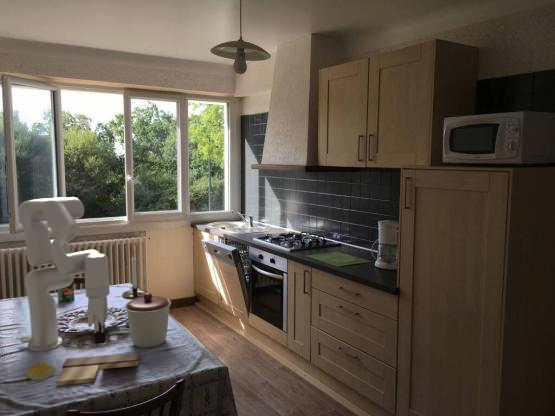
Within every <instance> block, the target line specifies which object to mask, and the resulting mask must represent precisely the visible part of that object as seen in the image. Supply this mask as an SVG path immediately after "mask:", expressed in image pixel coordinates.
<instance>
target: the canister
mask: <svg viewBox="0 0 555 416" xmlns="http://www.w3.org/2000/svg"><path fill="white" fill-rule="evenodd" d="M171 305H172V301H171V300H170V299H167V298H166V297H164V296H159V295H153V294H152V293H151V292H148V293H145V294H144V296H143V297H139V298H136V299H132V300H131V299H130V300H129V302H127V303H125V305H124V309H125V310H126V315H127V319H128V320H127V321H128V322H129V327H128V328H129V332H130V339H131V341H132V343H133V344H134V345H135V346H136V347H138V348H142V349H143V348H147V349H149V348H155V347H158V346H159V345H162V344H163V343H164V342H165V341H166V338H167V335H168V327H169V326H168V325H169V314H170V312H169V311H170V306H171Z"/></svg>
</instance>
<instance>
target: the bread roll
mask: <svg viewBox="0 0 555 416" xmlns="http://www.w3.org/2000/svg"><path fill="white" fill-rule="evenodd" d="M55 371H56V369H55V367H54V365H50V364H48V363H46V362H39V363H38V362H37V363H34V364H33V365H31V366H30V367H29V368H28V370H27V373H26V377H27V378H28V379H29V380H31V381H43V380H45V379H48V378H51V377H52V376H53V375H55Z"/></svg>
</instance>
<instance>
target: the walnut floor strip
mask: <svg viewBox="0 0 555 416" xmlns="http://www.w3.org/2000/svg"><path fill="white" fill-rule="evenodd" d="M139 360H140V352H131V353H128V352H127V353H118V354H117V353H116V354H107V355H106V354H104V355H95V356H83V357H70V358H65V360H64V362H63V364H62V369H63V368H70V367H81V366H92V365H99V364H110V363H121V362H133V361H138V363H139V362H140V361H139Z"/></svg>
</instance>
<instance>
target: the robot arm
mask: <svg viewBox="0 0 555 416" xmlns="http://www.w3.org/2000/svg"><path fill="white" fill-rule="evenodd" d="M17 213H18V219H19V222H20V225H21V226H22V228H23V233H24V241H25V250H26V251H25V252H26V259H27V262H28V264H29V265H30V266H32V267H39V266H46V265H51V264H52V266H46V267H41V268H37V269H33V270H31V271H29V272H28V273H27V274H26V275H25V277H24V286H25V288H26V292H27V297H28V308H29V320H30V321H29V322H30V334H29V335H28V336H26V335H24V336H23V335H22V336H20V342H21V344H27V349H28V350H29V351H32V352H45V351H46V352H47V351H51V350H54V349H57V348H58V347H60V346H61V345H62V344H63V338H62V337H60V336H59V334H58V333H59V331H58V330H59V329H58V314H57V302H56V300H55V298H54V296H52V295H51V294H50V292H53V291H56V290H57V289H61V288H65V287H68V286H69V285H71V283H72V280H73V281H74V279H73V278H74V277H73V276H74V275H80V274H84V286H85V297H86V298H88V299H87V325H88V327H89V328H91V327H92V326H93V328H94V329H93V330H94V344H95V345H98V344H106V339H107V337H106V336H107V335H106V326H105V325H106V324H105V323H106V321H107V319H108V316H109V315H108V313H109V311H108V307H109V306H108V296H109V295H110V293H111V292H110V276H109V275H110V274H109V272H110V271H109V258H108V256H107V255H106V254H105V253H101V252H100V251H98V250H97V249H86V250H80V251H75V252H72V251H71V248H70V244H69V242H71V241H72V240H73V239H74V238H76V237H77V236H78V235H79V233H80V227H79V224H78V222H77V221H76V220H77V219H81V218H82V217H83V216H84V213H85V207H84V204H83V201H81V200H80V199H79V198H78V197H75V196H70V197H68V196H67V197H65V196H64V197H61V196H60V197H50V198H37V199H29V200H26V201H23V202H22V203H21V204H20V205H19V207H18V212H17ZM44 221H46V223H47V224H46V223H45V222H44ZM47 225H48V226H47ZM48 227H49V228H50V230H51V233H52V234H53V235H54V238H53V239H50V230H49V228H48ZM53 264H55V265H53Z"/></svg>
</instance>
